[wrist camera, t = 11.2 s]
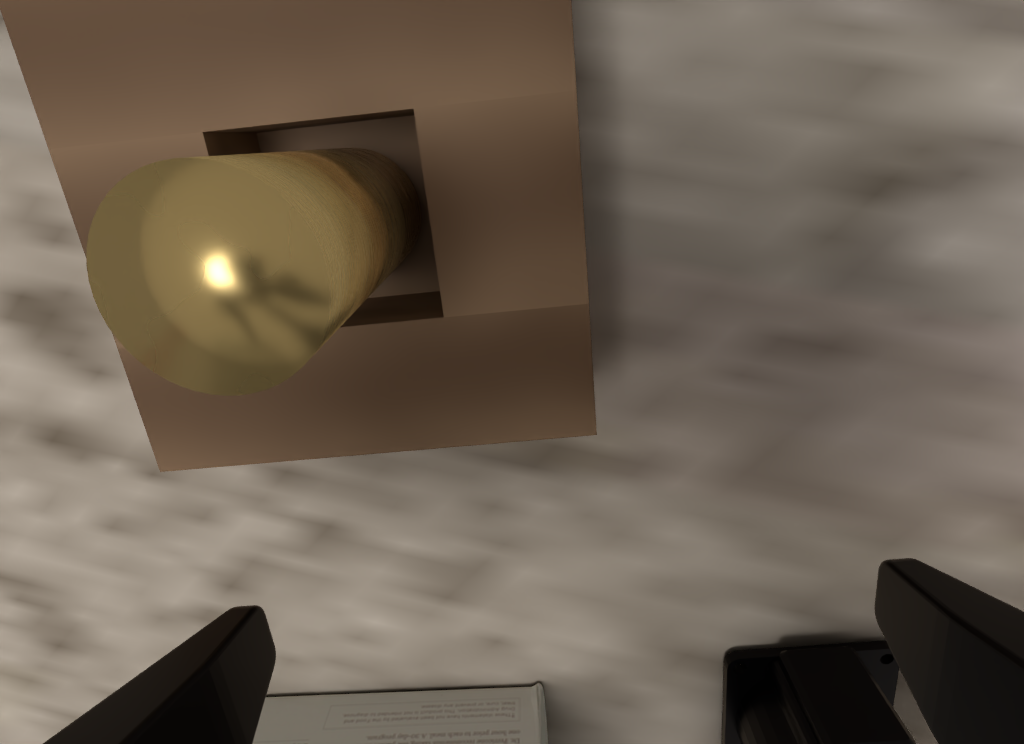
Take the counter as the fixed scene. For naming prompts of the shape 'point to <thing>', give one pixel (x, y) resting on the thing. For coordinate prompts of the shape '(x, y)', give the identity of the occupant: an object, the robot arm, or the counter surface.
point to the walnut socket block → (348, 124)
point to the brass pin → (246, 259)
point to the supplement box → (407, 718)
